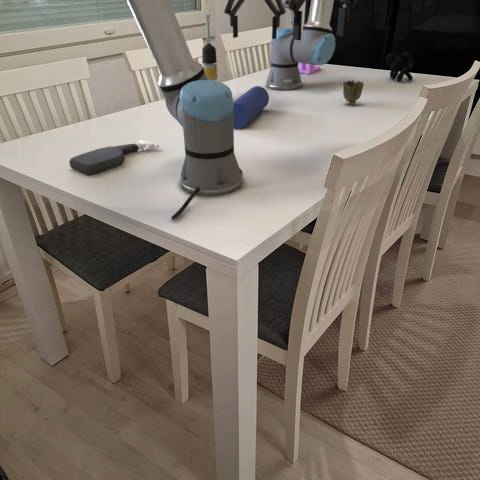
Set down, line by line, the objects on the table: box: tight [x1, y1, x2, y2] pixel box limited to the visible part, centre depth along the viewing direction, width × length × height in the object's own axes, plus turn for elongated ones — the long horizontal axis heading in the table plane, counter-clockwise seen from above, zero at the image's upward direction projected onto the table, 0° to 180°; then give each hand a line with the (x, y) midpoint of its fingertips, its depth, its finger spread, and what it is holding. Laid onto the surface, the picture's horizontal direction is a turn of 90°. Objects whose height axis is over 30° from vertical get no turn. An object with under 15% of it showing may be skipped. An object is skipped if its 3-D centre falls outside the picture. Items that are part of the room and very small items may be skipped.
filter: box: [201, 14, 218, 81], centre depth 171 cm, size 6×6×30 cm
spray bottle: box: [68, 139, 160, 177], centre depth 124 cm, size 3×11×24 cm
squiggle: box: [385, 51, 414, 83], centre depth 198 cm, size 11×10×15 cm
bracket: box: [298, 63, 321, 75], centre depth 218 cm, size 13×6×7 cm, turn 143°
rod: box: [233, 85, 270, 130], centre depth 154 cm, size 24×8×8 cm, turn 160°
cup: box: [342, 80, 365, 106], centre depth 166 cm, size 8×7×8 cm
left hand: (319, 37), depth 115 cm, fingers open, 13 cm apart
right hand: (254, 38), depth 149 cm, fingers open, 13 cm apart
